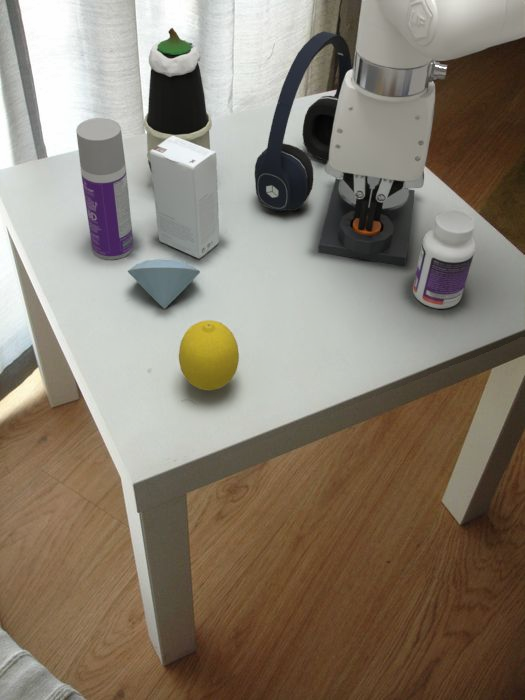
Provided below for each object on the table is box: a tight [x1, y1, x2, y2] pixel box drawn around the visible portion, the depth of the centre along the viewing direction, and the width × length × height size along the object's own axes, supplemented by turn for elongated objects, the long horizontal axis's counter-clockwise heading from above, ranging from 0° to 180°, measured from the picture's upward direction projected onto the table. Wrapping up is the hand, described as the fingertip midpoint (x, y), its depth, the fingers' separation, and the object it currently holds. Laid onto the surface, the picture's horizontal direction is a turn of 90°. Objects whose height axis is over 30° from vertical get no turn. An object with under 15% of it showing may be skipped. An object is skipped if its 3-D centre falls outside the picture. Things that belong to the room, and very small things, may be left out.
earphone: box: [254, 30, 353, 212], centre depth 95 cm, size 20×7×18 cm, turn 152°
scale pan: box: [339, 176, 409, 212], centre depth 94 cm, size 8×8×1 cm
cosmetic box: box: [149, 136, 220, 259], centre depth 87 cm, size 6×4×12 cm
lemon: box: [178, 319, 240, 391], centre depth 72 cm, size 6×6×8 cm
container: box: [75, 117, 134, 261], centre depth 84 cm, size 5×5×15 cm
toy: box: [143, 27, 213, 174], centre depth 92 cm, size 8×8×20 cm
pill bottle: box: [412, 209, 476, 310], centre depth 83 cm, size 5×5×10 cm
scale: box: [317, 178, 416, 267], centre depth 94 cm, size 10×14×3 cm
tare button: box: [352, 216, 381, 236], centre depth 90 cm, size 3×3×2 cm
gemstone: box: [127, 259, 201, 310], centre depth 83 cm, size 8×8×5 cm
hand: (366, 223), depth 89 cm, fingers closed
